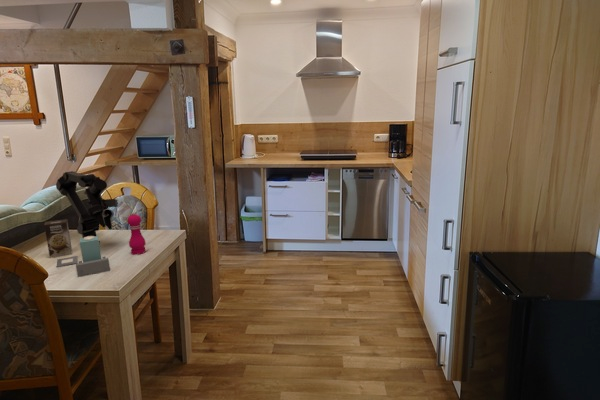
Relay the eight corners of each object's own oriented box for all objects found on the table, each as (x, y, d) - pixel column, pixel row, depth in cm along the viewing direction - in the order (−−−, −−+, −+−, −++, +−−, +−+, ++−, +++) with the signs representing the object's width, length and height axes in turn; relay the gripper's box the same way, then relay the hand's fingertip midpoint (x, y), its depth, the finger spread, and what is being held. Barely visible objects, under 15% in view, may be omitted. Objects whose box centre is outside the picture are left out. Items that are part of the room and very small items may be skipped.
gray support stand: (77, 268, 169) (75, 257, 167) (108, 262, 174) (106, 251, 173) (77, 277, 159) (75, 265, 158) (110, 270, 165) (108, 259, 164)
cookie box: (49, 258, 181) (43, 224, 178) (50, 254, 187) (44, 221, 183) (72, 254, 185) (66, 221, 182) (72, 250, 191) (67, 218, 187)
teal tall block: (83, 264, 171) (79, 237, 168) (101, 261, 175) (97, 234, 172) (84, 269, 166) (79, 240, 163) (102, 265, 170) (98, 237, 167)
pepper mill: (133, 250, 189) (127, 209, 184) (148, 249, 189) (143, 209, 185) (128, 255, 182) (122, 214, 177) (144, 254, 182) (138, 213, 178)
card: (57, 260, 178) (57, 259, 178) (77, 256, 182) (77, 255, 182) (56, 267, 170) (56, 266, 170) (77, 263, 174) (77, 262, 174)
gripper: (105, 187, 180) (118, 218, 178) (117, 195, 198) (129, 223, 196) (80, 197, 178) (94, 228, 176) (95, 204, 196) (107, 232, 194)
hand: (107, 228), depth 186 cm, fingers open, 9 cm apart
